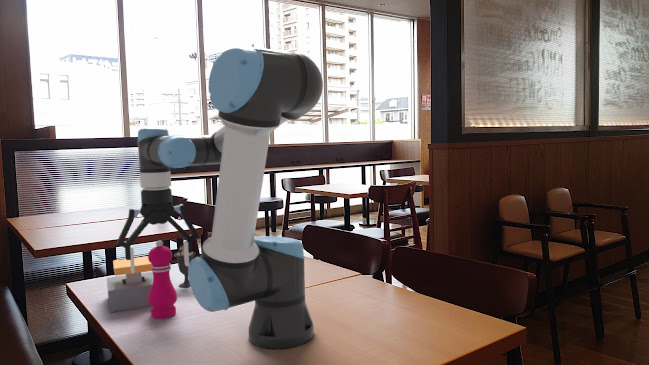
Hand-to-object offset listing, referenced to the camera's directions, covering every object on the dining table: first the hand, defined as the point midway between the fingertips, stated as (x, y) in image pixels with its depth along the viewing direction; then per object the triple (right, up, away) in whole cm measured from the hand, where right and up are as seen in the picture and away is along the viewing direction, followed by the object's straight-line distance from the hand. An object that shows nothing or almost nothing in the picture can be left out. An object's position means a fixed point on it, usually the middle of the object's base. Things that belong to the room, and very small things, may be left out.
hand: (160, 268), depth 133 cm
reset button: (-12, -7, +13) cm, 19 cm away
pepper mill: (+1, -13, +1) cm, 13 cm away
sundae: (0, -10, +27) cm, 29 cm away
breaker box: (-12, -12, +13) cm, 21 cm away
